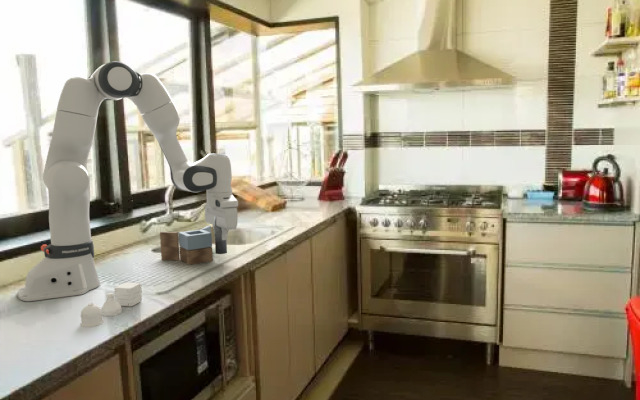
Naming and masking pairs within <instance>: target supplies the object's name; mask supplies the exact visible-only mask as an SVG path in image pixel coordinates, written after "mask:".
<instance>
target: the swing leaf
mask: <svg viewBox="0 0 640 400" xmlns="http://www.w3.org/2000/svg"><path fill="white" fill-rule="evenodd" d="M212 236H213V235H212V227H211V225H207V226H205V227H203V228H200V229H195V230H186V231H178V238H179V247H180V246H181V247H183V248H185V249H187V250H193V249H200V248H206V247H212V248H213V239H212Z"/></svg>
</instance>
